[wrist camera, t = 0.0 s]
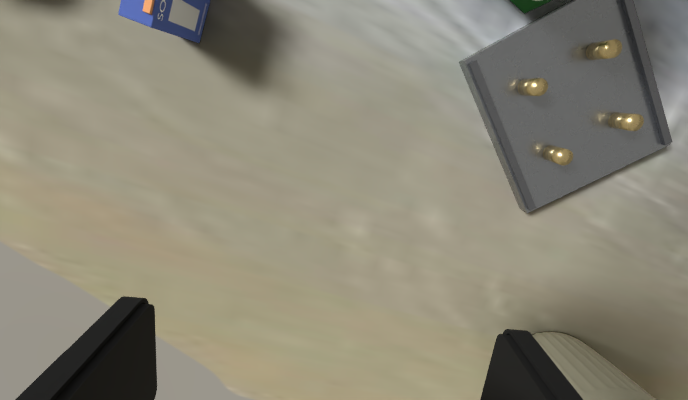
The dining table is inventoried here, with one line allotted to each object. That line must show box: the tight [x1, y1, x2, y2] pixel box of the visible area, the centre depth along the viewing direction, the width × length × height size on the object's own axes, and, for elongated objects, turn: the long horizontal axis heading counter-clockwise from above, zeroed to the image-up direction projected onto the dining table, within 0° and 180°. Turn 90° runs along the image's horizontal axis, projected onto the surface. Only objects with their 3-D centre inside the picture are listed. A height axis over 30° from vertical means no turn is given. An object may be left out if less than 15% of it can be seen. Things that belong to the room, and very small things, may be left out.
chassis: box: [459, 0, 672, 213], centre depth 43 cm, size 20×18×5 cm
